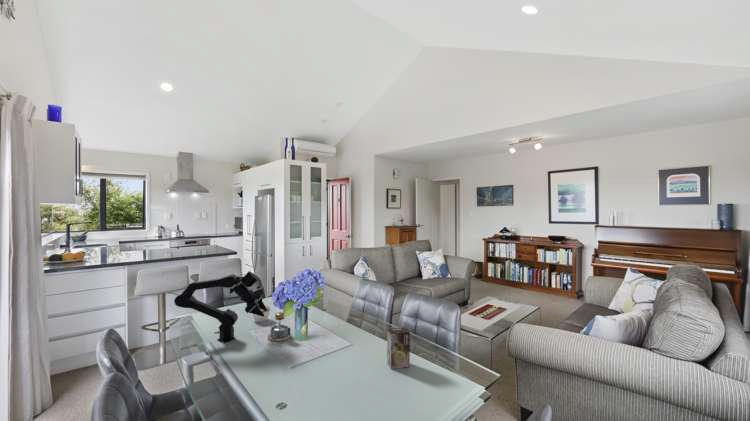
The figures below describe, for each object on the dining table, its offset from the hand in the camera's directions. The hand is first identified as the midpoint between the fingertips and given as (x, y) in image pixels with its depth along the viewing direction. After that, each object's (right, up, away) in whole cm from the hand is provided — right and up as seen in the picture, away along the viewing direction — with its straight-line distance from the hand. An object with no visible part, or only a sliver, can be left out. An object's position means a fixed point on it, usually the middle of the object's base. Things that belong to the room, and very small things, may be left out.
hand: (265, 313), depth 174 cm
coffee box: (+70, -15, -27) cm, 77 cm away
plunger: (+7, -10, +1) cm, 12 cm away
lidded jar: (-12, -13, +26) cm, 32 cm away
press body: (+7, -14, +1) cm, 15 cm away
